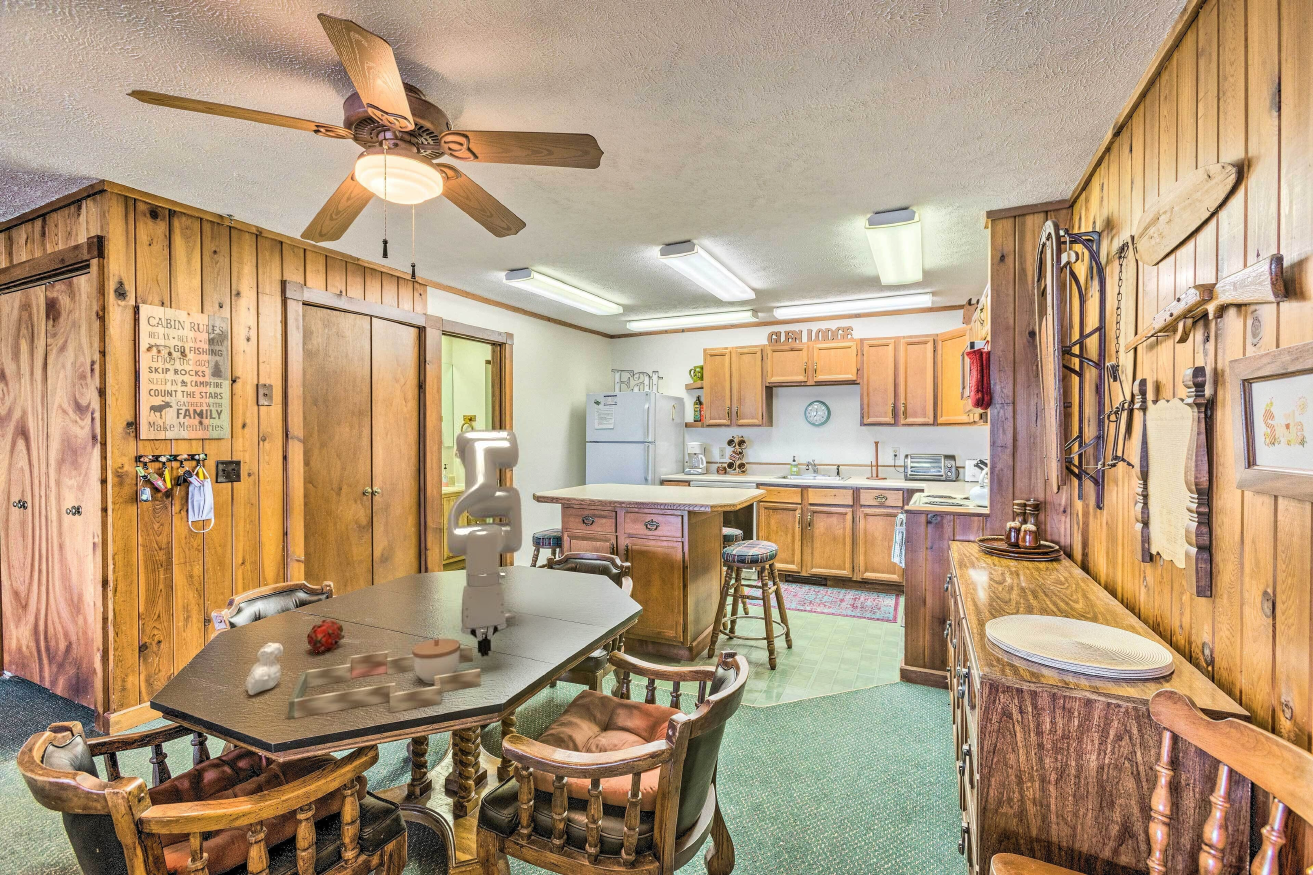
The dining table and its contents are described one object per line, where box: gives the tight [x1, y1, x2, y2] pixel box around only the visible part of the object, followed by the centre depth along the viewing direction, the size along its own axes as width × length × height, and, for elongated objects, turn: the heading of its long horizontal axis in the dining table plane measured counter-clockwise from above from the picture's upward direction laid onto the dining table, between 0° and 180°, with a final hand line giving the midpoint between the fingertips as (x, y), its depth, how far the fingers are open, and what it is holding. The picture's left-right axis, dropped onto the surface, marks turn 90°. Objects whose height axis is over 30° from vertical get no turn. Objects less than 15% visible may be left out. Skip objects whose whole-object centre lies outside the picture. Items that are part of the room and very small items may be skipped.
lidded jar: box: [411, 638, 461, 685], centre depth 141 cm, size 11×11×9 cm
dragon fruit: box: [306, 619, 346, 655], centre depth 163 cm, size 8×8×12 cm
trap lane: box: [288, 645, 482, 720], centre depth 137 cm, size 38×30×4 cm
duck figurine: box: [245, 641, 284, 696], centre depth 138 cm, size 12×8×11 cm
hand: (484, 654), depth 145 cm, fingers closed
